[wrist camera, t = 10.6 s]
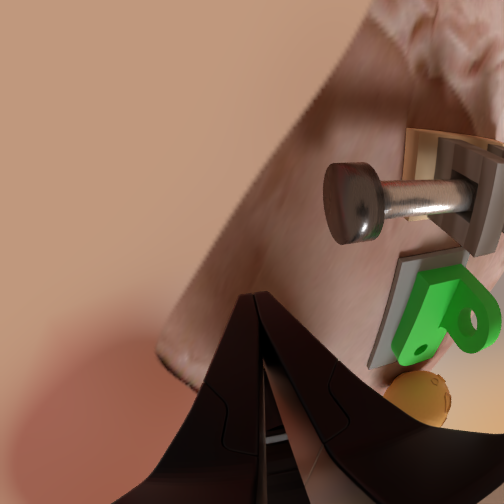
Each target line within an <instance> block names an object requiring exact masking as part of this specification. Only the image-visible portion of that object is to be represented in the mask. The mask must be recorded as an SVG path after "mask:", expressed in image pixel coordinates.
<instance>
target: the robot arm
mask: <svg viewBox="0 0 504 504" xmlns="http://www.w3.org/2000/svg"><path fill="white" fill-rule="evenodd" d="M263 362H264V366H265V370H266V371H264V369H263ZM203 382H204V383H202V385H201V387H200V390H199V392H198V394H197V397H196V399H195V401H194V403H193V405H192V408H191V410H190V411H189V413H188V415H187V417H186V419H185V420H184V423H183V424H182V426H181V427H180V429H179V431H178V432H177V434H176V436H175V437H174V439H173V441H172V442H171V444H170V445H169V447H168V449H167V450H166V452H165V454H164V455H163V457H162V458H161V460H160V462H159V463H158V465H157V466H156V468H155V469H154V470H153V472H152V473H151V474H150V475H149V476H148V477H147V478H146V479H145V480H144V481H143V482H142V483H140V484H139V485H138V486H136V487H135V488H133V489H132V490H131V491H129V492H128V493H126V494H125V495H123V496H122V497H120V498H119V499H117V500H116V501H114V502H113V503H111V504H504V434H489V433H477V432H468V431H461V430H453V429H446V428H440V427H434V426H431V425H427V424H425V423H422V422H420V421H418V420H416V419H414V418H413V417H411V416H410V415H408V414H407V413H405V412H404V411H403V410H401V409H400V408H398V407H397V406H395V405H394V404H393V403H391V402H390V401H388V400H387V399H386V398H384V397H383V396H381V395H380V394H379V393H377V392H376V391H374V390H373V389H372V388H371V387H369V386H368V385H367V384H365V383H364V382H363V381H361V380H360V379H359V378H358V377H357V376H356V375H355V374H353V373H352V372H351V371H350V370H349V369H348V368H347V367H346V366H345V365H344V364H343V363H342V362H341V361H338V359H337V358H336V357H335V356H334V355H333V354H332V353H331V352H330V351H329V350H328V349H327V348H326V347H325V346H324V345H323V344H322V343H321V342H320V341H318V340H317V339H316V338H315V337H314V336H313V335H312V334H311V333H310V332H309V331H308V330H307V329H306V328H305V327H304V326H303V325H302V324H301V323H300V322H299V321H298V320H297V319H296V318H295V317H294V316H293V315H292V314H291V313H289V312H288V311H287V310H286V309H285V308H284V307H283V306H282V305H281V304H280V303H279V302H278V301H277V300H276V299H275V298H274V297H273V296H272V295H271V294H270V293H269V292H268V291H263V292H256V293H254V295H253V294H252V293H248V294H241V295H239V296H238V298H237V301H236V303H235V306H234V308H233V310H232V313H231V315H230V318H229V320H228V322H227V325H226V327H225V330H224V332H223V335H222V337H221V339H220V342H219V344H218V347H217V349H216V351H215V354H214V356H213V359H212V361H211V364H210V366H209V368H208V371H207V373H206V376H205V378H204V380H203Z"/></svg>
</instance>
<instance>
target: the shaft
mask: <svg viewBox="0 0 504 504" xmlns="http://www.w3.org/2000/svg"><path fill="white" fill-rule="evenodd" d="M477 189H478V183H476V182H475V181H473V180H471V179H431V180H393V181H380V180H379V177H378V175H377V173H376V172H375V170H374V169H373V168H372V167H371V166H370V165H369V164H367V163H365V162H353V163H333V164H330V165H329V167H328V168H327V170H326V173H325V177H324V183H323V202H324V210H325V216H326V220H327V224H328V227H329V230H330V232H331V234H332V236H333V238H334V239H335V241H336V242H337V243H339V244H341V245H343V244H351V243H358V242H365V241H372V240H375V239H376V238H377V237H378V236H379V234H380V232H381V230H382V227H383V223H384V219H392V218H402V217H411V216H421V215H431V214H441V213H451V212H462V211H473V208H474V204H475V199H476V194H477Z"/></svg>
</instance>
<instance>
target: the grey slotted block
mask: <svg viewBox="0 0 504 504" xmlns="http://www.w3.org/2000/svg"><path fill="white" fill-rule="evenodd" d="M431 179H471V180H473V181H475V182H476V183H478V189H477V194H476V199H475V204H474V208H473V211H462V212H451V213H441V214H431V215H421V216H411V217H404V218H405V219H406V220H407V221H416V220H425V219H430V220H432V221H433V222H434V223H435V224H436V225H438V226H439V227H440V228H441V229H442V230H444V231H445V232H446V233H447V234H448V235H450V236H451V237H452V238H453V239H454V240H455V241H456V242H458V243H459V244H460V245H461V246H462V247H463V248H464V249H465V250H467V251H468V252H469V253H470V254H471V255H472V256H473V257H478V256H482V255H486V254H490V253H494V252H495V250H496V247H497V244H498V241H499V238H500V235H501V232H503V233H504V143H502V142H500V141H497V140H494V139H489V138H483V137H478V136H472V135H465V134H458V133H451V132H443V131H435V130H425V129H415V128H406V142H405V155H404V166H403V176H402V180H431Z"/></svg>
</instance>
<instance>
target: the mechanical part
mask: <svg viewBox="0 0 504 504" xmlns="http://www.w3.org/2000/svg"><path fill="white" fill-rule="evenodd" d="M471 310H473V311H474V313H475V315H476V317H477V330H475V329H474V328H473V326H472V323H471V318H470V315H471ZM500 330H501V312H500V308H499V305H498V303H497V301H496V300H495V298H494V297H493V296H492V295H491V294H490V292H489V291H488V290H487V289H486V288H485V287H484V286H483V285H482V284H481V283H480V282H479V281H478V280H477V279H476V278H475V277H474V276H473V275H472V274H471V273H470V272H469V271H468V270H467V269H466V268H465V267H464V266H463V265H462V264H457V265H452V266H447V267H442V268H436V269H431V270H425V271H420V272H418V273H417V276H416V279H415V282H414V285H413V288H412V291H411V294H410V297H409V300H408V302H407V305H406V308H405V310H404V313H403V316H402V318H401V321H400V323H399V326H398V328H397V331H396V333H395V335H394V338H393V340H392V343H391V349H392V351H393V353H394V355H395V357H396V358H397V360H398V362H399V364H400V365H402V366H409V365H413V364H416V363H419V362H421V361H424V360H427V359H430V358H432V357H433V355H434V354H435V352H436V350H437V349H438V347H439V345H440V343H441V342H442V340H443V338H444V336H445V334H446V332H448V333H449V334H450V336H451V337H452V339H453V340H454V341H455V343H456V344H457V346H458V347H459V348H460V349H461V350H462V351H464V352H466V353H476V352H478V351H480V350H482V349H484V348H486V347H488V346H490V345H492V344H493V343H494V342H495V341H496V339H497V338H498V336H499V333H500Z"/></svg>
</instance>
